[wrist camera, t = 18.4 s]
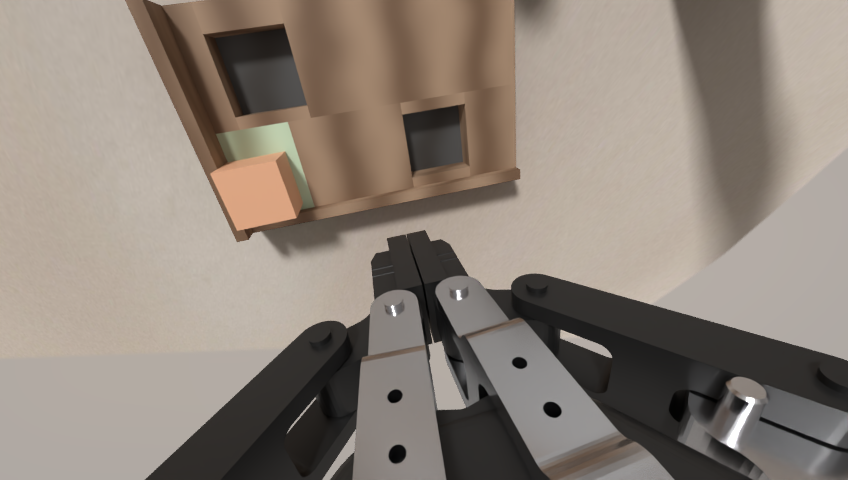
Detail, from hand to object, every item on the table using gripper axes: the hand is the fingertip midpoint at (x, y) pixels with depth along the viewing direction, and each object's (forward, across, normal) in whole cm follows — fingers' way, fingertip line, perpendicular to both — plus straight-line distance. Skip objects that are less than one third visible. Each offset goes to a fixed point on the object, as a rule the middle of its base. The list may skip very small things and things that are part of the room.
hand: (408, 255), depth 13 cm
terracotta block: (+20, +10, +1) cm, 23 cm away
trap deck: (+23, 0, -4) cm, 23 cm away
